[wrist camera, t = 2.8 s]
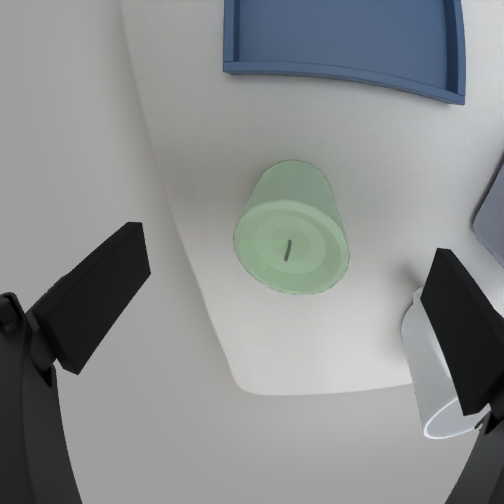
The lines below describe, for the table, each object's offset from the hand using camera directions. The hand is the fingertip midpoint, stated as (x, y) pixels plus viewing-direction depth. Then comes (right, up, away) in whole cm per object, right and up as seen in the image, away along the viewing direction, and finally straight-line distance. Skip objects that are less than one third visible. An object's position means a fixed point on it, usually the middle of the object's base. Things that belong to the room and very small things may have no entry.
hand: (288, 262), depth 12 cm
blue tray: (+4, +17, -1) cm, 17 cm away
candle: (+1, +4, +7) cm, 8 cm away
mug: (+14, -4, +9) cm, 17 cm away
